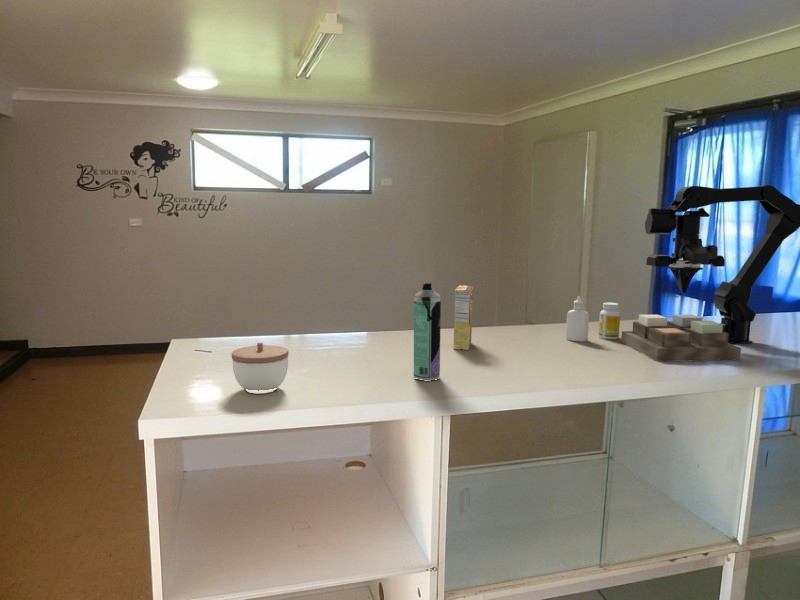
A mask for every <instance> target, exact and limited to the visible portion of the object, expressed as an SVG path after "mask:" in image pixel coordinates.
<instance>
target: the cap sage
mask: <svg viewBox="0 0 800 600" xmlns="http://www.w3.org/2000/svg"><path fill="white" fill-rule="evenodd" d="M720 323H721V322H720ZM720 323H719V322H716V321H713V320H702V321H691V330H694V331H696V332H699V333H722V329H723V324H720Z"/></svg>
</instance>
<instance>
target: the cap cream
mask: <svg viewBox="0 0 800 600" xmlns="http://www.w3.org/2000/svg"><path fill="white" fill-rule="evenodd" d="M638 321H639V323H640V324H642V325H645V326H667V321H668V317H665V316H663V315H660V314H638Z"/></svg>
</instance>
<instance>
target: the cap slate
mask: <svg viewBox="0 0 800 600" xmlns="http://www.w3.org/2000/svg"><path fill="white" fill-rule="evenodd" d="M671 321H672V323H675V324H677V325H680V326H691V321H703V317H701V316H698V315H695V314H691V313H690V314H689V313H688V314H685V313H684V314H683V313H682V314H672V319H671Z"/></svg>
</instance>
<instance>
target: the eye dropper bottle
mask: <svg viewBox="0 0 800 600" xmlns="http://www.w3.org/2000/svg"><path fill="white" fill-rule="evenodd" d="M589 322H590V316H589V312H588V311H586V310H584V301H583V300H582V299H581V296H579V295H577V298H576V300H574V301H573V309H571V310H569V311H567V314H566V328H565V339H566V340H568V341H572V342H577V343H579V342H580V343H583V342H587V341H588V340H589Z"/></svg>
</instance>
